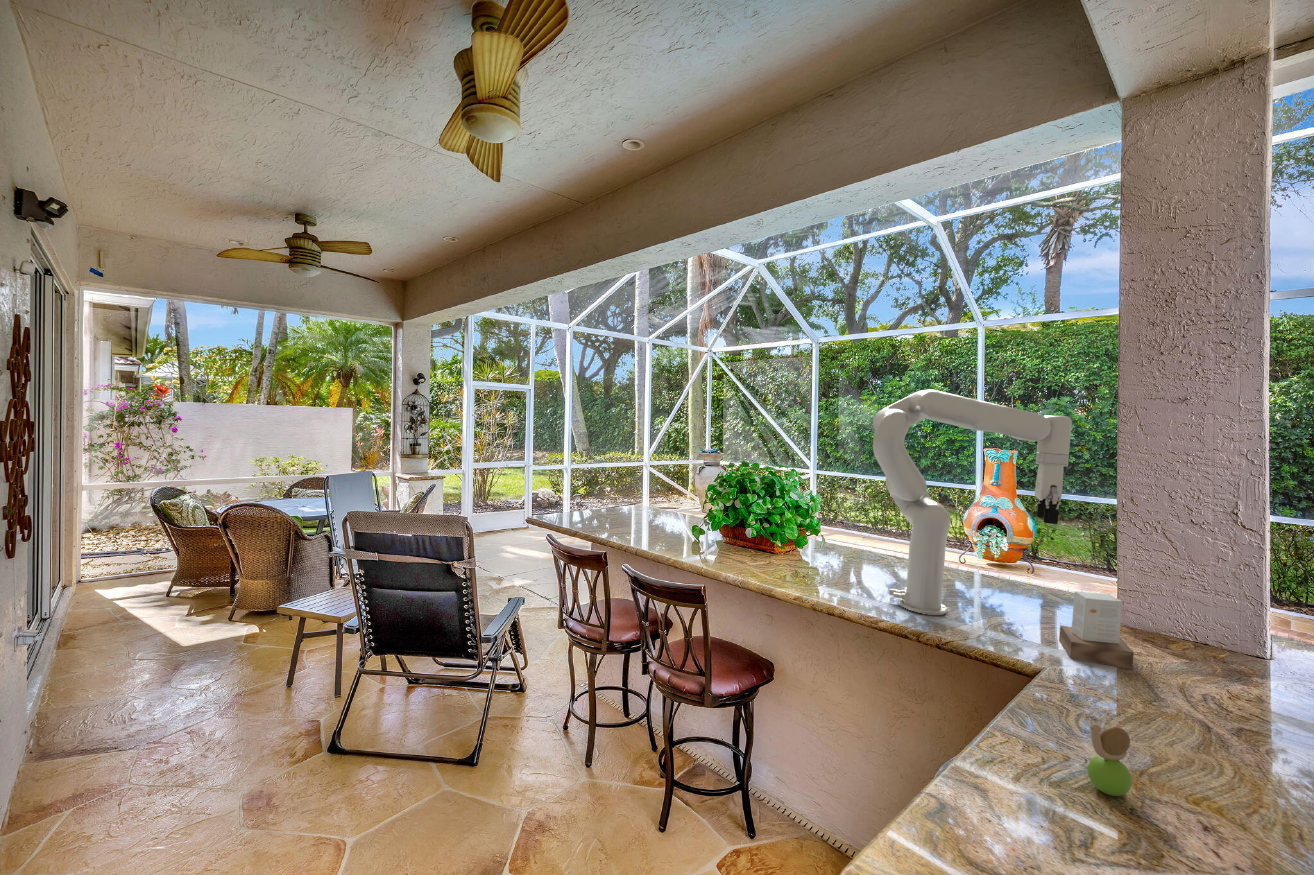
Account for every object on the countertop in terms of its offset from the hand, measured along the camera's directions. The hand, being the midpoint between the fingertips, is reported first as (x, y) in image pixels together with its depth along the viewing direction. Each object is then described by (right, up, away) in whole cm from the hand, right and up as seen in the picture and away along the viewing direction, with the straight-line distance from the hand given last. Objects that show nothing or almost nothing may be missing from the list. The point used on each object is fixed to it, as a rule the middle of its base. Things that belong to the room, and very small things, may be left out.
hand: (1046, 520), depth 165 cm
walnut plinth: (-3, -30, -22) cm, 37 cm away
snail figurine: (-41, -31, -75) cm, 91 cm away
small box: (-3, -26, -22) cm, 34 cm away
